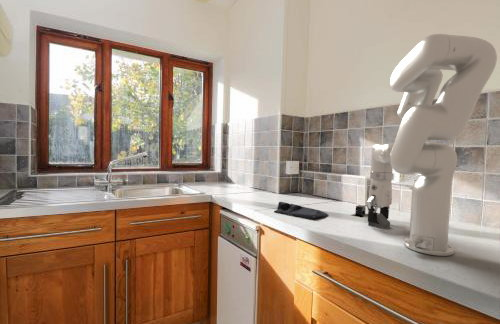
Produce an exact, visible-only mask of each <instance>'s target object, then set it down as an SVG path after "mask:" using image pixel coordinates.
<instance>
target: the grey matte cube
mask: <svg viewBox="0 0 500 324" xmlns="http://www.w3.org/2000/svg"><path fill="white" fill-rule="evenodd" d="M376 213H377V223H372V222H368V221H367V223H368V224H367V226H369V227H372V228H377V229H381V230H385V229H389V228H390V227H391V222H390V220H388V219H386V218H385V217H384V216H383V214H382V213H381V214H380V212H376Z"/></svg>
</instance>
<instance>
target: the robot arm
mask: <svg viewBox="0 0 500 324" xmlns="http://www.w3.org/2000/svg"><path fill="white" fill-rule="evenodd" d="M497 60H498V55H497V51H496V48H495V46H494V45H493V44H492V43H491V42H489V41H487V40H486V39H483V38H479V37H474V36H468V35H456V34H455V35H453V34H446V33H445V34H444V33H433V34H430V35H428V36H425V37H424V38H422V39H421V40H420V41H418V43H417V44H416V45H415V46H414V47H413V48H412V49H411V50H410V51H409V52H408V53H407V54H406V55H405V57H404V58H403V59H402V60H401V61H400V62H399V63H398V65H397V66H396V67H395V68H394V70H393V71H392V74H391V75H390V79H389V85H390V89H391V90H392V91H394V92H397V93H403V96H402V98H401V100H400V103H399V106H398V109H397V116H398V118H400V119H401V122H400V124H399V127H398V131H397V134H396V136H395V140H394V143H386V144H384V143H376V144H374V145H372V147H371V158H370V159H371V160H370V177H369V180H370V183H369V189H368V199H367V201H366V205H367V207H366V208H367V214H368V216H367V223H368V222H372V223H377V213H378V212H377V211H378V208H379V213H380V214H381V213H382V214H383V216H384V217H385V218H386V219H387V220H388V219H389V215H390V205H392V203H393V202H392V201H393V186H392V181H393V170H394V171H395V172H396V173H398V174H401V175H414V176H415V175H417V177H416V179H415V181H414V182H413V183H412V184H413V186H412V188H411V189H412V190H411V200H410V201H411V203H410V204H411V205H410V224H409V237H407V238H404V239H403V243H402V244H403V246H405V248H407V249H409V250H412V251H415V252H418V253H422V254H426V255H431V256H436V257H437V256H439V257H447V256H448V257H449V256H452V255H453V254H455V249H454V248H453V246H451V245H450V244H448V243H449V228H450V227H449V226H450V209H451V198H452V197H451V194H452V184H453V183H452V182H453V178H454V175H455V171H456V168H457V164H458V155H457V152H456V150H455V149H454V148H453V147H452V146H450V145H449V144H446V143H443V142H433V141H453V140H456V139H458V138H459V137H461V136H462V135H463V133H464V131H465V130H466V128H467V125H468V123H469V121H470V119H471V116H472V114H473V112H474V110H475V107H476V105H477V103H478V100H479V98H480V96H481V93H482V92H483V90H484V88H485V86H486V84H487V83H488V81H489V80H490V78H491V76H492V74H493V72H494V70H495V67H496V65H497ZM442 70H443V71H446V70H447V71H454V72H456V73H454V74H453V75H452V76H451V77H450V78H449V79H448V80H447V81H446V82H445V83H444V85H442V87H441V89H440V92H439V95H438V97H437V100H436V102H434V100H435V98H436V95H437V93H438V90H439V88H440V85H441V83H442V80H443V71H442ZM433 102H434V104H433Z"/></svg>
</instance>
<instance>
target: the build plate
mask: <svg viewBox="0 0 500 324" xmlns="http://www.w3.org/2000/svg"><path fill="white" fill-rule="evenodd" d="M366 208H367V207H366V205H361V204H358V205H356V206H355V213H352V214H350V216H352V217H358V218H365V217H368V213H366V211H367V210H366Z"/></svg>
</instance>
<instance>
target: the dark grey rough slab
mask: <svg viewBox="0 0 500 324" xmlns="http://www.w3.org/2000/svg"><path fill="white" fill-rule="evenodd" d="M274 213H276V214H278V213H279V214H282V215H286V216H292V217H297V218H305V219H311V220H312V219H313V220H314V219H317V218H318V219H319V218H325V217H328V216H329V214H328V213H327V212H325V211H322V210H319V209H315V208H311V207H305V206H301V205H299V204H294V203H288V202H285V201H284V202H283V201H279V202H278V205H277V209H276V210H274Z"/></svg>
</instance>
